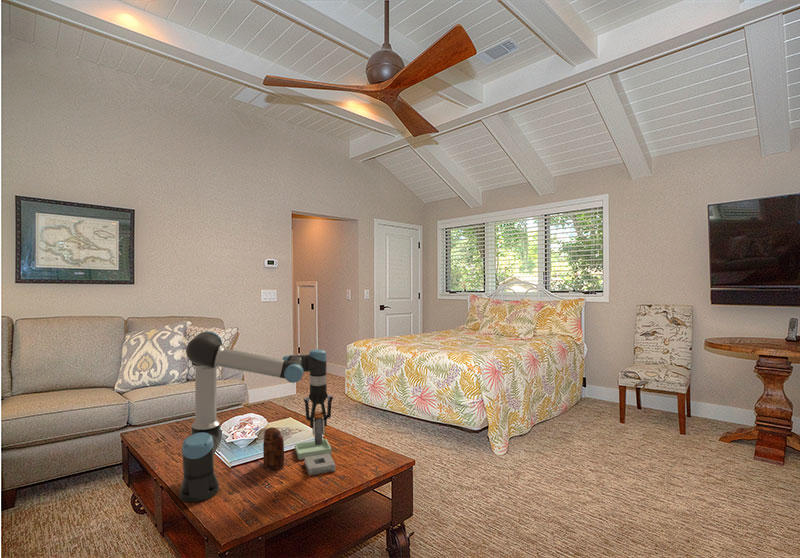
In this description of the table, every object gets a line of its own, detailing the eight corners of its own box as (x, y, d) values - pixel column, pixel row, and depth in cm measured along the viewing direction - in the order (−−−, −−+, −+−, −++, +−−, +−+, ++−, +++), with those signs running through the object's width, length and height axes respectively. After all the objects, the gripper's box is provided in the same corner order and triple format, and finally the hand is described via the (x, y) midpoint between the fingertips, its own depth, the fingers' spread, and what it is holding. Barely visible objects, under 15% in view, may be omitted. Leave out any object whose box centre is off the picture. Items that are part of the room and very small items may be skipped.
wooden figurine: (258, 466, 218) (257, 428, 216) (267, 460, 224) (266, 424, 222) (278, 471, 213) (277, 433, 211) (287, 465, 219) (286, 428, 217)
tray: (298, 459, 224) (298, 453, 224) (294, 449, 235) (294, 443, 235) (331, 454, 230) (331, 448, 230) (326, 444, 241) (326, 438, 241)
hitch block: (308, 475, 209) (308, 468, 209) (304, 463, 220) (304, 457, 220) (335, 470, 213) (335, 464, 213) (329, 459, 225) (329, 453, 224)
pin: (313, 446, 213) (313, 415, 212) (311, 441, 217) (311, 412, 216) (325, 444, 214) (325, 414, 213) (323, 440, 219) (322, 410, 218)
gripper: (301, 387, 207) (301, 439, 209) (338, 384, 213) (338, 434, 215) (298, 383, 214) (298, 433, 216) (334, 379, 220) (334, 428, 222)
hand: (318, 433), depth 216 cm, fingers closed on pin, 4 cm apart
